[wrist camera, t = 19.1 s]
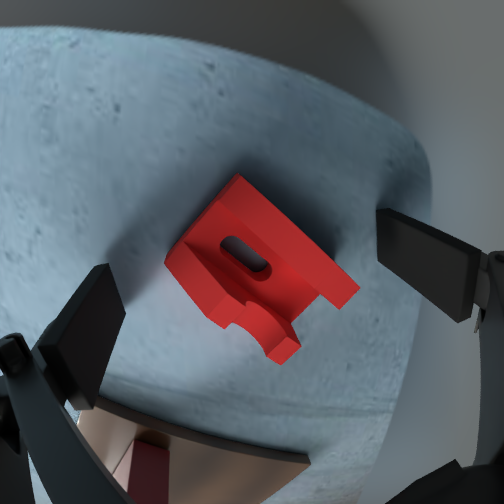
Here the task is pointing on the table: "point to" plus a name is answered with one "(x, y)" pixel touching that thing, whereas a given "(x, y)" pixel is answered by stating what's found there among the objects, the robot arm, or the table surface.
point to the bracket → (255, 283)
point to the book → (145, 473)
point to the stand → (191, 457)
